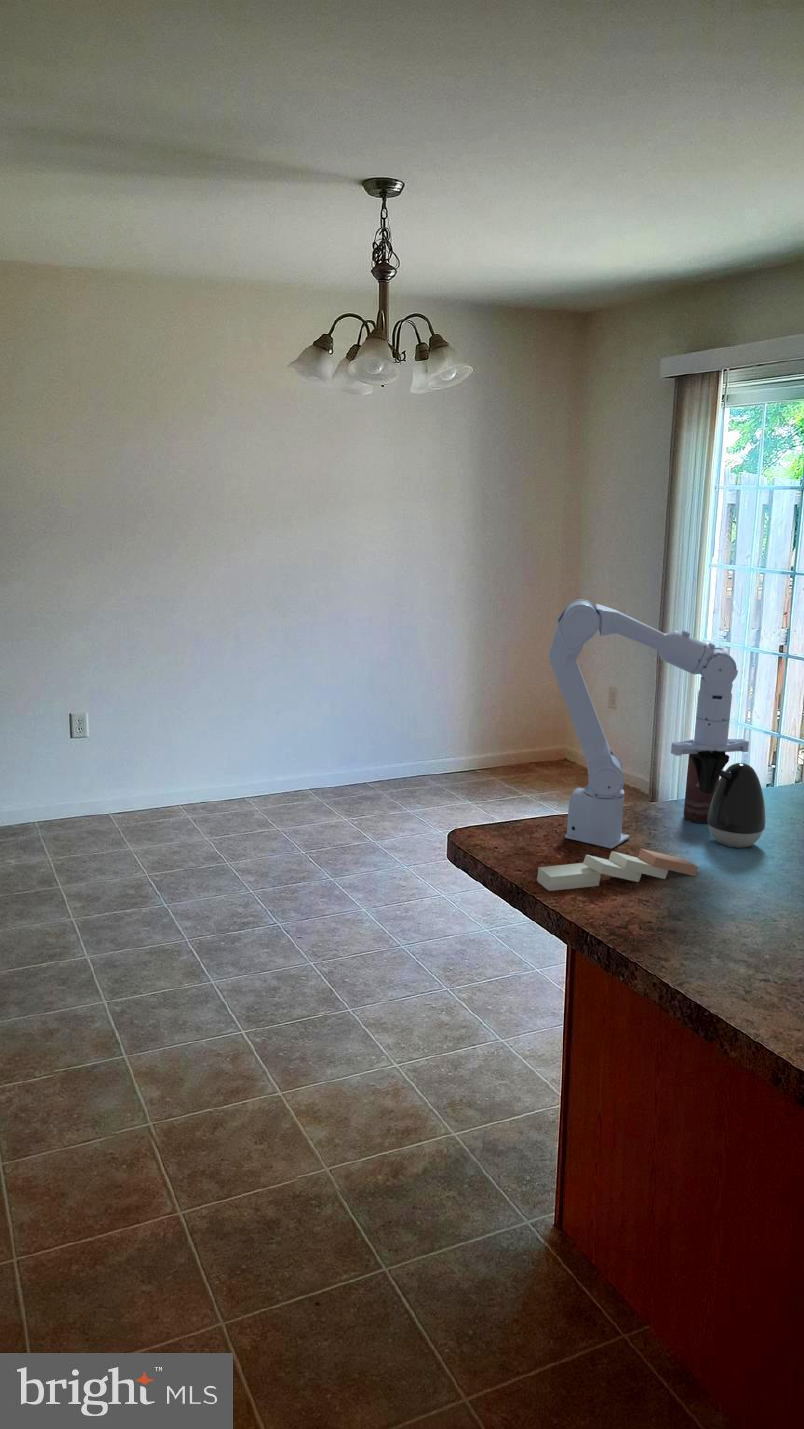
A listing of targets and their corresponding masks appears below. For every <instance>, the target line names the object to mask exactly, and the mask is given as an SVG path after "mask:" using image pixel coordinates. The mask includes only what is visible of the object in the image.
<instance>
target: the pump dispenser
mask: <svg viewBox="0 0 804 1429" xmlns="http://www.w3.org/2000/svg"><path fill="white" fill-rule="evenodd" d="M719 776H720V778H719V782H718V784H717V787H716V789H715V791H714V794H713V797H712V800H711V803H710V807H709V811H708V816H707V824H708V829H709V832H710V834H711V836H712V838H713V839H714V840H716V841H717V843H719V844H721V845H723V846H726V847H729V848H736V849H739V848H741V849H743V848H747V847H750V846H752V845H754V844H756V842H758V840H759V839H760V838H761V836H762V834H763V831H765V829H766V817H767V816H766V807H765V806H766V805H765V799H764V798H765V797H764V793H763V789H762V785H761V781H760V778H759V777H758V775H757V773H756V771H755V769H754V768H753V767H752V766H751V765H749V764H747V763H744V762H736V763H733V764H731V765H730V766H728V767H727V769H726V770H723V769H722V771H721V773H720V775H719Z"/></svg>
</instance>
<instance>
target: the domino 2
mask: <svg viewBox="0 0 804 1429" xmlns="http://www.w3.org/2000/svg"><path fill="white" fill-rule="evenodd" d="M536 877H537V878H536V882H537V883H539V884H540V885H542V887H544V888H545V889H546V890H548V891H549V892H551V891H559V890H571V889H580V888H589V887H597V886H600V881H596V882H587V883H577V884H568V885H559V886H549V885H548V884H547V883H545V882H544V881H543V880H542V879H540V878H539V877H538V875H536Z"/></svg>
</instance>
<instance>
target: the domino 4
mask: <svg viewBox="0 0 804 1429" xmlns="http://www.w3.org/2000/svg"><path fill="white" fill-rule="evenodd" d="M608 860H610V861H611V862H613V863H615V864H617V865H618V866H620V867H622V868H624V869H627V870H631V871H635V872H639V873H642V875H643V874H644V875H647V876H651V877H655V878H659V879H664V880H666V877H667V875H668V873H669V870H667V869H662V868H658V867H654V866H651V865H650V864H648V863H646V862H645V861H643V860H641V859H640V858H638V856H637V857H636V856H633V855H628V854H625V853H621V852H617V851H613V850H612V851H611V850H610V855H609V857H608Z"/></svg>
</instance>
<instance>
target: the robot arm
mask: <svg viewBox="0 0 804 1429" xmlns="http://www.w3.org/2000/svg"><path fill="white" fill-rule="evenodd" d="M598 631H599V634H600V636H601V637H603V636H604V637H605V636H608V635H614V634H617V635H620V636H622V637H624V638H627V639H629V640H632V641H635V642H636V643H640V644H642V645H644V646H646V647H649V648H652V649H654V650H657V652H658V654H659V658H660V661H663V662H665V663H668V664H670V665H672V666H674V667H676V668H678V669H680V670H682V671H686V672H687V673H689V674H692V675H701V677H700V684H699V690H698V692H697V703H696V714H695V715H696V716H695V727H694V736H693V737H694V738H693V739H688V740H684V741H676V742H675V741H674V742H671V746H670V747H671V748H670V749H671V750H670V753H671V754H672V755H674V756H677V757H678V756H679V757H680V756H682V755H689V754H690V757H691V759H692V761H693V763H694V766H695V769H696V772H697V776H698V781H699V788H700V791H702V792H704V793H706V794H707V793H712V792H713V789H714V786H715V784H716V781H717V779H718V777H719V775H720V773H721V771H722V770H723V769H724V768H725V767H726V765H727V764H728V762H729V760H730V756H729V754H726V753H732V752H742V753H749V746H750V741H749V740H745V739H743V738H737V739H736V738H729V730H730V722H731V721H730V720H731V709H732V700H733V693H732V690H733V682H734V681H735V679H736V678H737V676H738V673H739V670H737V664H736V661H735V660H734V658H733V657H732V656H731V655H730V654H729V653H728V652H727V651H725V650H723V649H722V648H721V647H716V644H714V643H712V642H709V643H708V644H707V643H705V642H703V641H701V640H699V639H696V638H694V637H692V636H690V635H691V633H690V632H689V631H687V630H685V629H682V631H678V630H673V631H672V630H671V631H670V632H667V633H664V632H662V631H660V630H658V629H656V628H654V627H652V626H650V625H648V624H646V623H644V622H641V620H637V619H636V618H633V617H631V616H629V615H627V614H625V613H623V612H621V611H619V610H616V609H614V608H611V607H608V606H605V605H603V604H599V603H595V605H594V603H593V602H591V601H589V600H587V599H585V598H584V599H583V598H581V599H580V598H579V599H575V600H572V601H570V602H569V603H568V604H567V605H566V606H565V608H564V609H563V611H562V612H561V614H560V615H559V617H557V622H556V627H555V630H554V634H553V637H552V641H551V645H550V649H549V655H548V657H549V658H548V659H549V663H550V666H551V668H552V670H553V673H554V676H555V679H556V681H557V684H558V686H559V689H560V692H561V694H562V697H563V700H564V703H565V706H566V708H567V710H568V714H569V716H570V718H571V721H572V724H573V726H574V729H575V732H576V735H577V738H578V740H579V742H580V745H581V748H582V751H583V754H584V758H585V761H586V765H587V772H588V781H587V782H588V783H587V784H586V785H585V786H584V788H583V787H577V788H575V789H574V790H573V792H572V793H571V795H570V798H569V801H568V810H567V812H568V813H567V825H566V826H567V828H566V829H567V830H566V834H565V835H564V837H565V838H566V839H569V840H573V841H578V842H581V843H586V844H590V845H595V846H598V847H603V848H607V849H614V848H615V847H617V846H618V845H620V844H622V843H623V842H625V841H626V840H628V839H629V838H630V835H629V834H626V833H625V834H624V833H622V829H623V817H624V816H623V815H624V803H625V801H624V800H625V790H624V789H623V788H624V786H625V774H624V772H623V766H622V761H621V759H620V758H619V757H618V755H617V754H615V753H614V752H613V750H612V749H611V746H610V744H609V742H608V739H607V737H606V735H605V732H604V729H603V726H602V725H601V722H600V718H599V716H598V713H597V711H596V708H595V705H594V702H593V699H592V698H591V695H590V691H589V688H588V686H587V684H586V681H585V679H584V676H583V673H582V670H581V668H580V665H579V663H578V662H579V661H578V659H577V658H578V657H579V655H580V653H581V652H582V650H583V648H584V646H585V645H586V644H587V642H588V641H590V640H591V639H592V638H593V637H594V636H595V635H596V633H597V632H598Z"/></svg>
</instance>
